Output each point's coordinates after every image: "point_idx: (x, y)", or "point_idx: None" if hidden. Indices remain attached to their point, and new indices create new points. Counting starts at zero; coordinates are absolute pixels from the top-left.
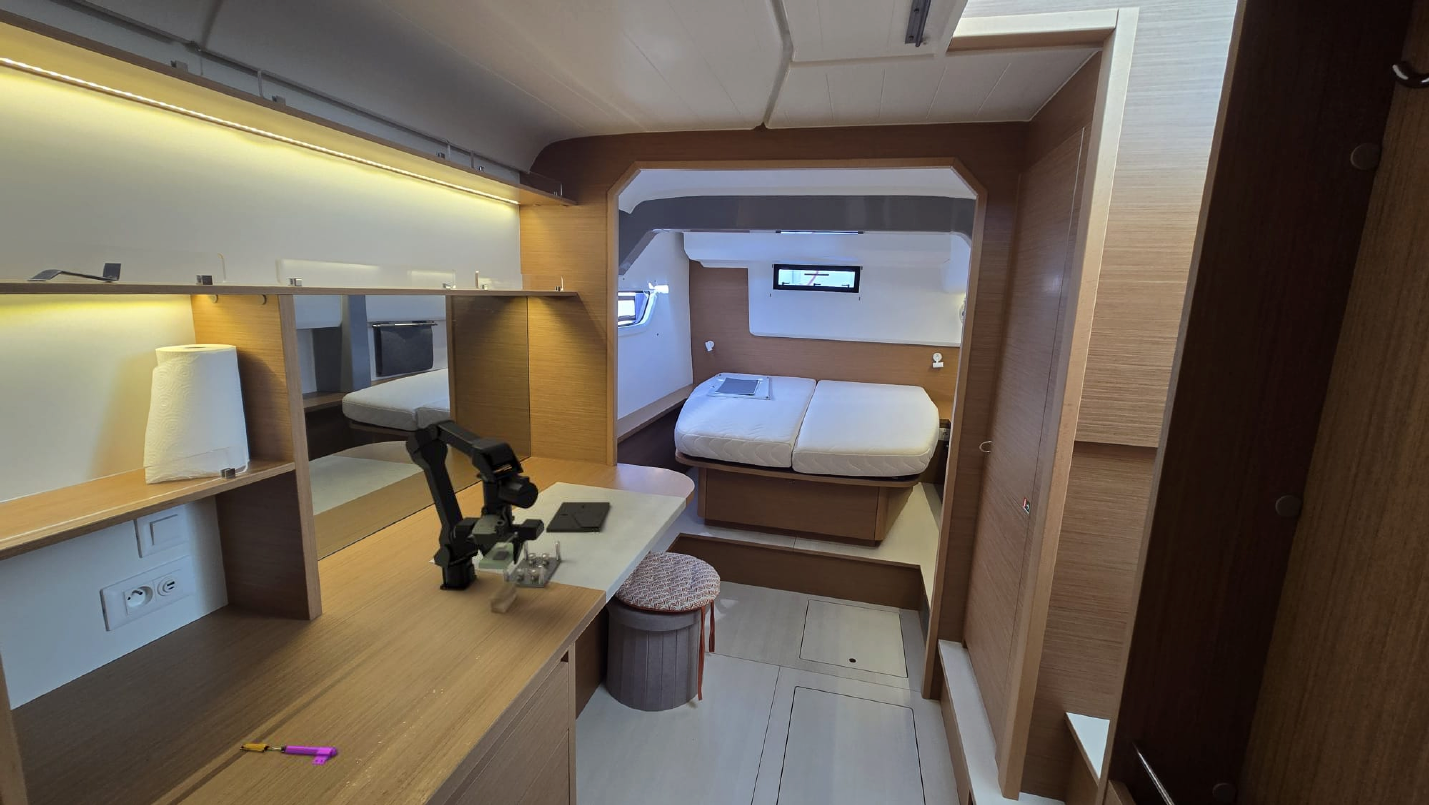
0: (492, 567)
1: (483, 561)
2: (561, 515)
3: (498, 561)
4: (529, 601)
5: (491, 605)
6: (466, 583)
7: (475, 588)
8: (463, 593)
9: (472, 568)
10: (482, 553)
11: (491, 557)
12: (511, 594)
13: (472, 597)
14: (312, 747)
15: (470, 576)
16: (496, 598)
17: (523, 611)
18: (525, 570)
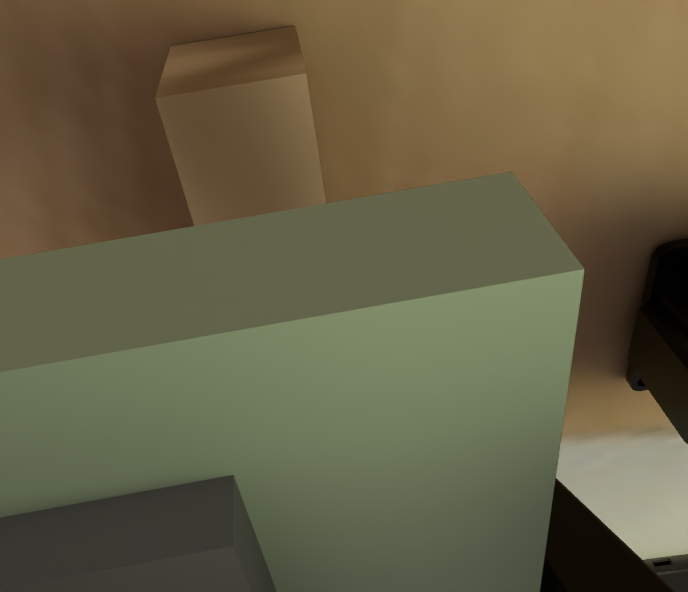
0: (120, 264)
1: (456, 368)
2: None
3: (8, 472)
4: (85, 244)
5: (294, 47)
6: (670, 296)
7: (587, 282)
8: (652, 212)
9: (684, 408)
10: (636, 582)
11: (353, 541)
12: None
13: (564, 184)
14: None
15: (667, 346)
16: (236, 85)
17: (17, 107)
18: None
